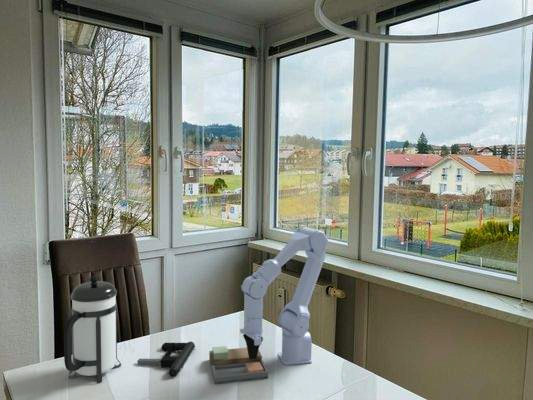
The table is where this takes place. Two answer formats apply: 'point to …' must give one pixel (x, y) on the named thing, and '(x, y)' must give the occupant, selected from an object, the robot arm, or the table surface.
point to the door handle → (171, 357)
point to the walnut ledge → (234, 357)
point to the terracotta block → (254, 367)
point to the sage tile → (220, 352)
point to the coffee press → (92, 330)
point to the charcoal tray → (236, 373)
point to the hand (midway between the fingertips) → (252, 357)
